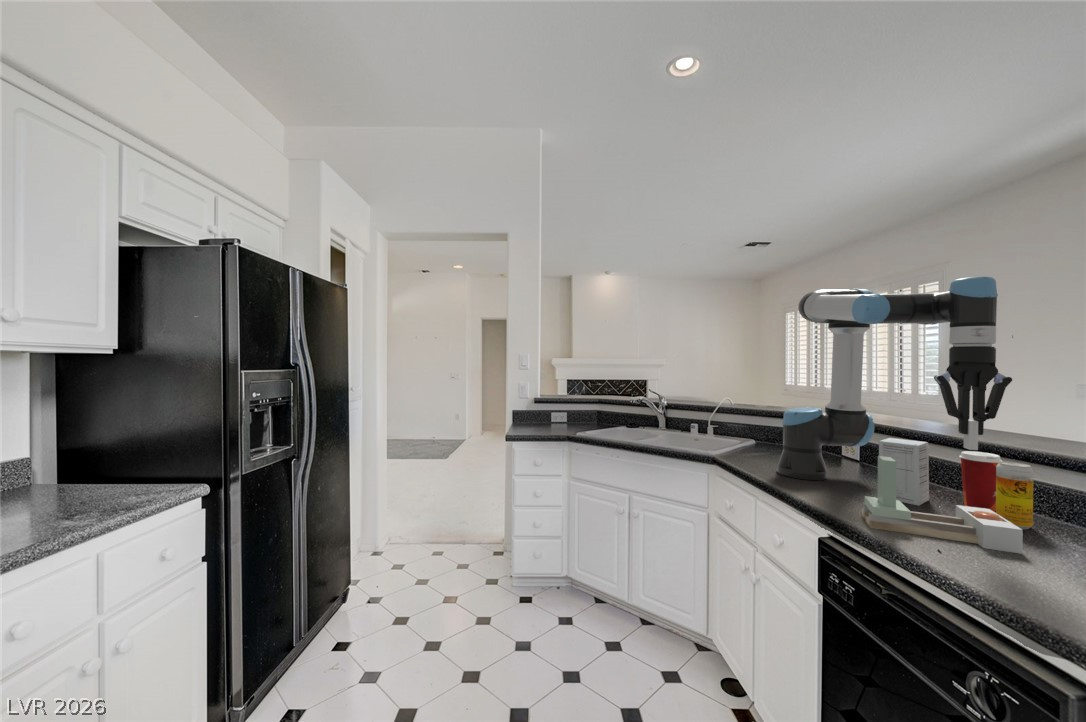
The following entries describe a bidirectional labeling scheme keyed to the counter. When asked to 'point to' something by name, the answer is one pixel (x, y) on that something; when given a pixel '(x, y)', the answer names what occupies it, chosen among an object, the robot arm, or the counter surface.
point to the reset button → (986, 515)
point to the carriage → (887, 493)
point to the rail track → (924, 525)
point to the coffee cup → (979, 479)
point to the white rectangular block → (993, 530)
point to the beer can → (1015, 493)
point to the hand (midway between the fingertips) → (970, 448)
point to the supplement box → (909, 468)
